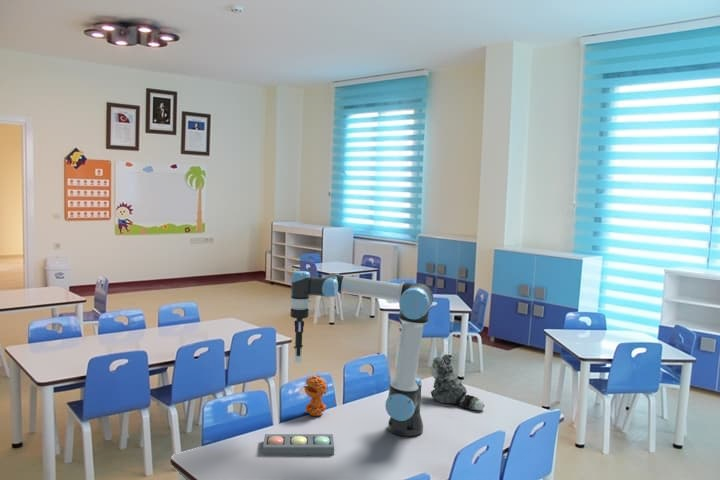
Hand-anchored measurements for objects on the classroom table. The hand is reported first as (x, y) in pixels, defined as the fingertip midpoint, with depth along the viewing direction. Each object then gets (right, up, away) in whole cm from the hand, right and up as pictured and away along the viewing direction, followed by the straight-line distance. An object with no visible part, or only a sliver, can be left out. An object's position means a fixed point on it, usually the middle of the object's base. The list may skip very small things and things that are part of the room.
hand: (297, 362), depth 249 cm
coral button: (-7, -28, -20) cm, 35 cm away
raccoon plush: (+74, -28, +42) cm, 90 cm away
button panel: (+2, -30, -19) cm, 35 cm away
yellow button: (+2, -29, -19) cm, 35 cm away
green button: (+11, -29, -18) cm, 36 cm away
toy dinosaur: (+6, -27, +17) cm, 32 cm away
